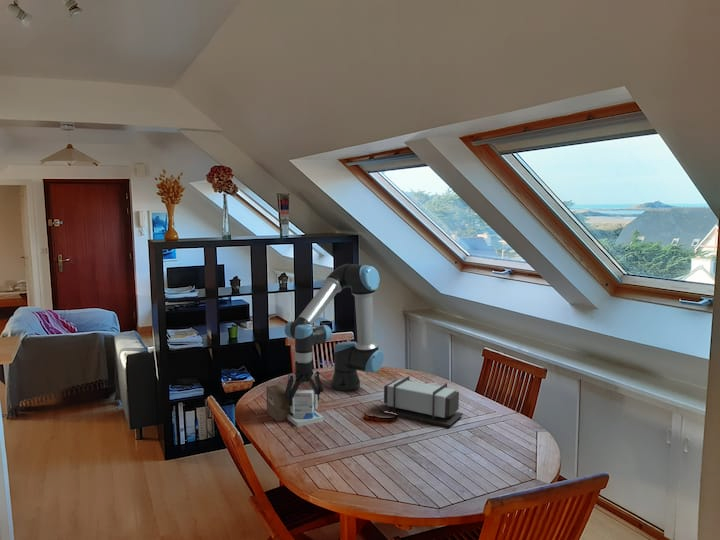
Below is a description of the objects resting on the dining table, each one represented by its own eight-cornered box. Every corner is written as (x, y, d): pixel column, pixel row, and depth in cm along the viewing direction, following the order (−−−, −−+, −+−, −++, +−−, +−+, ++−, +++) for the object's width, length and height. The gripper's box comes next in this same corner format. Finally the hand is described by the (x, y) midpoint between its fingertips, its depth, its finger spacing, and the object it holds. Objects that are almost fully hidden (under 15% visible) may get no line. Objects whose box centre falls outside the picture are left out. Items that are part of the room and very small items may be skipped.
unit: (283, 409, 258) (282, 383, 256) (294, 417, 248) (293, 391, 246) (265, 412, 253) (265, 386, 252) (276, 421, 243) (275, 394, 242)
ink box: (314, 414, 248) (314, 389, 246) (312, 419, 243) (312, 393, 241) (295, 414, 248) (295, 388, 247) (292, 418, 244) (292, 392, 242)
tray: (310, 412, 254) (310, 407, 254) (323, 421, 244) (323, 416, 244) (285, 417, 248) (285, 413, 248) (297, 427, 237) (297, 422, 237)
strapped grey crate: (394, 373, 266) (464, 385, 248) (394, 403, 267) (463, 417, 249) (378, 381, 253) (451, 395, 235) (378, 413, 254) (450, 429, 236)
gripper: (323, 355, 252) (323, 403, 254) (275, 362, 240) (276, 412, 243) (331, 359, 246) (331, 408, 248) (282, 366, 234) (283, 418, 236)
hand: (304, 410), depth 245 cm, fingers open, 10 cm apart
